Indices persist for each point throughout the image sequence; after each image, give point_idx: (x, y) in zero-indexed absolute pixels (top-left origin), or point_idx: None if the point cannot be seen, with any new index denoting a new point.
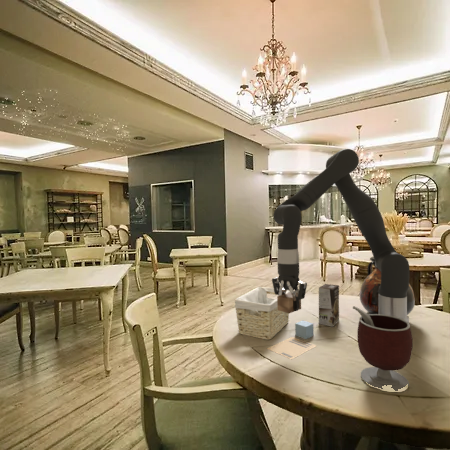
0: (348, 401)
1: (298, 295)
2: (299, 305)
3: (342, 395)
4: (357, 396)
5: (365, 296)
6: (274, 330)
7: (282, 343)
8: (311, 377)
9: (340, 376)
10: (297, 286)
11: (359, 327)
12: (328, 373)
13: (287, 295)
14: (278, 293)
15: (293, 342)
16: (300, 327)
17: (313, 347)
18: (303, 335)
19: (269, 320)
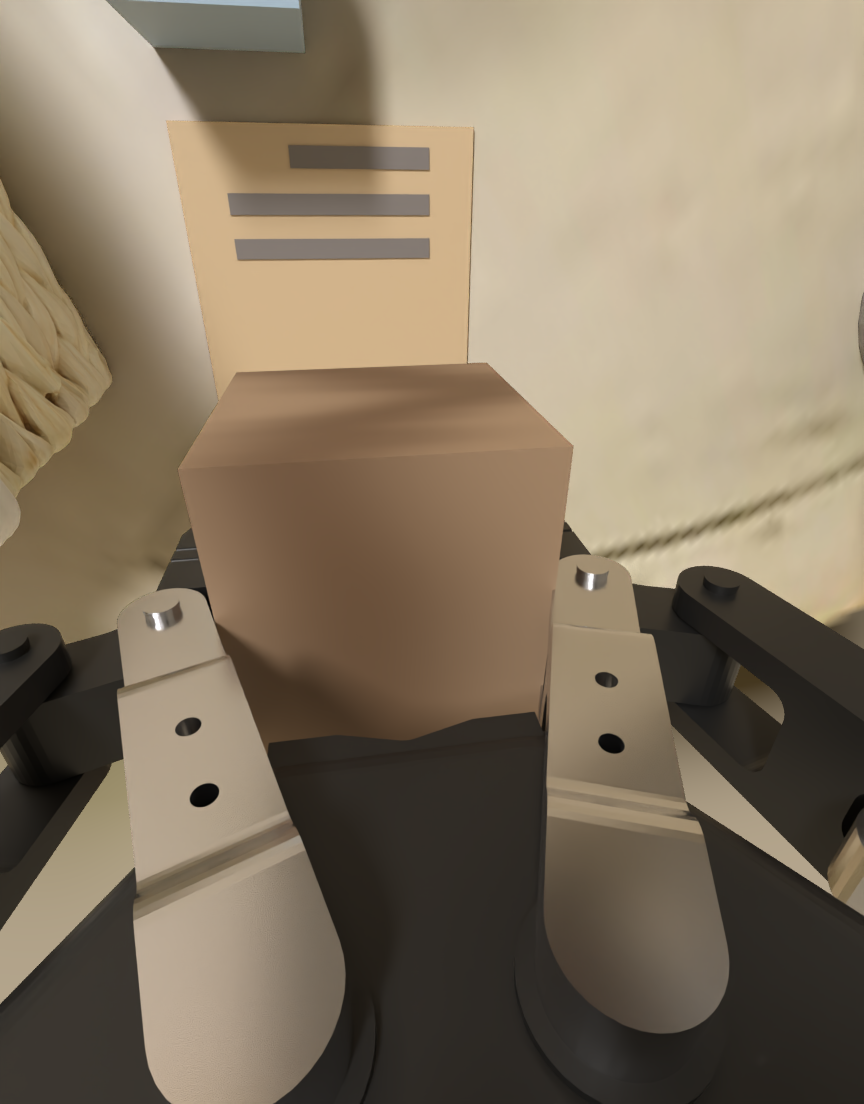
0: (823, 572)
1: (706, 744)
2: (567, 525)
3: (796, 558)
4: (853, 518)
5: None
6: (24, 271)
7: (238, 345)
8: (639, 550)
9: (760, 431)
10: (672, 747)
11: None
12: (698, 454)
13: (360, 682)
14: (118, 737)
15: (284, 249)
16: (208, 13)
17: (469, 194)
18: (266, 41)
19: (51, 454)
